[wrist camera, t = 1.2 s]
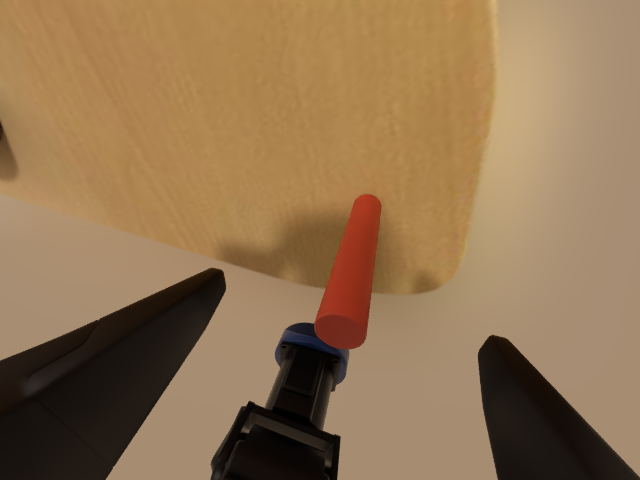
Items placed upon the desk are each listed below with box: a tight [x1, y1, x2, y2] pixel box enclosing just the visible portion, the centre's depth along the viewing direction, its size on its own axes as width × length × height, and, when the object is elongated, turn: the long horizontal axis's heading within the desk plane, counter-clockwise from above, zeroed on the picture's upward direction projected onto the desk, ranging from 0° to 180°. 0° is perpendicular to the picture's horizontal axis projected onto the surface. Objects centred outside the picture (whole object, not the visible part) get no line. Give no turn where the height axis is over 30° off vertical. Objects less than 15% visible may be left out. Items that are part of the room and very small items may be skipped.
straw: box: [314, 194, 381, 349], centre depth 11 cm, size 2×2×9 cm
